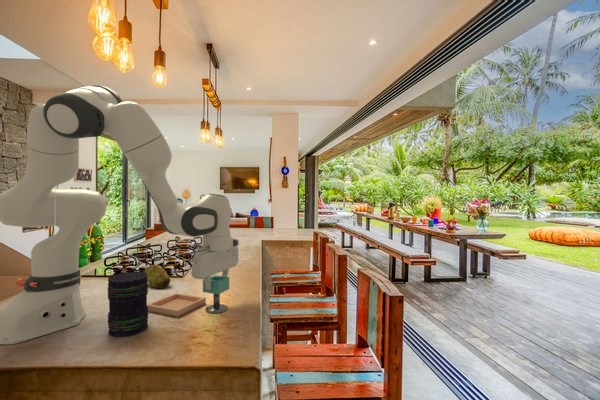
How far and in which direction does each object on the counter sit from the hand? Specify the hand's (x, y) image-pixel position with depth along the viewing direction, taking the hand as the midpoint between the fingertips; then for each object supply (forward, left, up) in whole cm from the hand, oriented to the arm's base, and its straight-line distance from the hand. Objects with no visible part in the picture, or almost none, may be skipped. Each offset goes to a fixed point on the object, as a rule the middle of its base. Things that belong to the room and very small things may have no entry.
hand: (216, 285), depth 104 cm
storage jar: (-22, +13, -8) cm, 27 cm away
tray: (-4, +13, -8) cm, 15 cm away
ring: (0, 0, -2) cm, 2 cm away
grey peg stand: (0, 0, -8) cm, 8 cm away
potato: (+11, +38, -8) cm, 40 cm away
